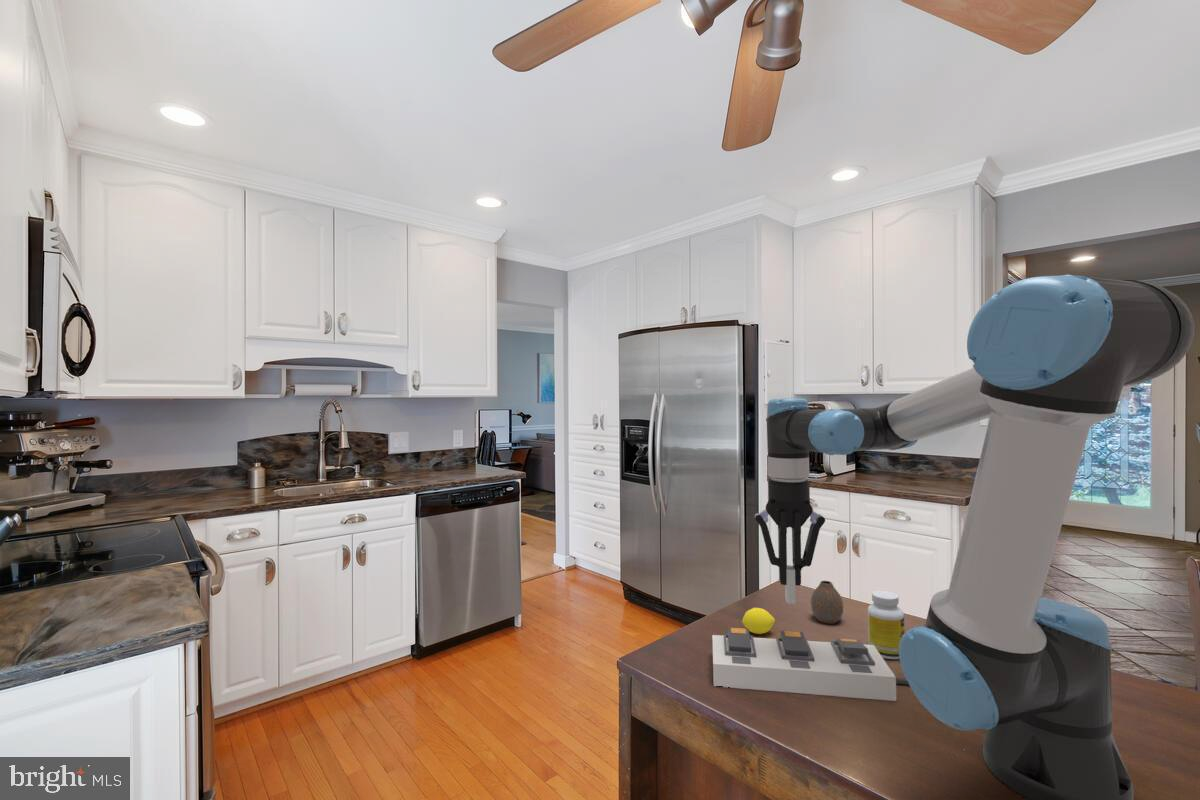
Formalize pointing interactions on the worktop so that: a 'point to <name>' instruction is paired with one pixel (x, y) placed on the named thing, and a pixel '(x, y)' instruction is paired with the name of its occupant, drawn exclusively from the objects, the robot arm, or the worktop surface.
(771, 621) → the lemon
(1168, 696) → the worktop surface
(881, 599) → the pill bottle
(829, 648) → the rocker switch box
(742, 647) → the rocker
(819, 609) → the vase
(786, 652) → the dark grey flat block
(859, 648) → the rocker
